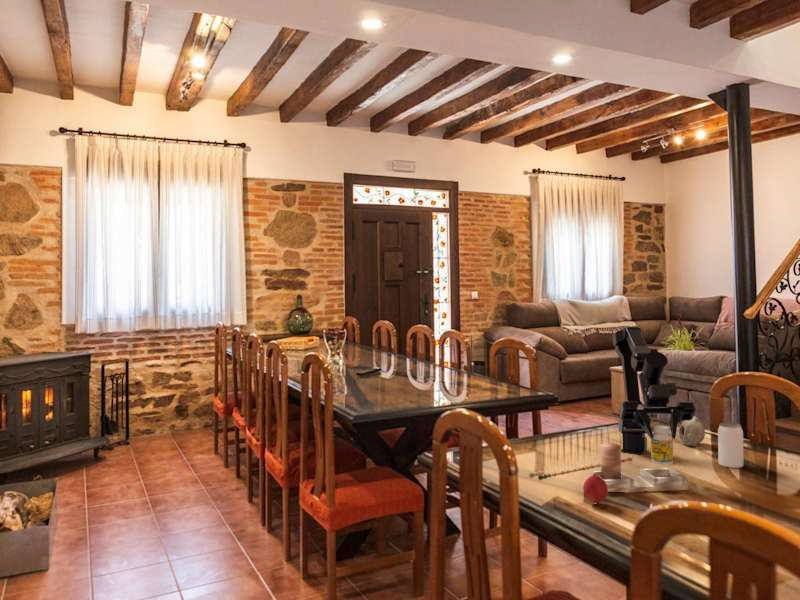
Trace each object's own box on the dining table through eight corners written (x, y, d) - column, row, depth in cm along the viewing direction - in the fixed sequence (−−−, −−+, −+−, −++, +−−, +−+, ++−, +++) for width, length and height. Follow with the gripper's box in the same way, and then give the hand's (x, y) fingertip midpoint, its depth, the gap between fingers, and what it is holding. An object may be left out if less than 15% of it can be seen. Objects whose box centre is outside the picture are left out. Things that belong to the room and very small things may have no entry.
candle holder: (600, 493, 159) (599, 450, 158) (587, 482, 168) (587, 441, 167) (688, 489, 160) (687, 447, 159) (671, 478, 169) (670, 438, 168)
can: (746, 469, 176) (746, 427, 175) (722, 468, 177) (721, 427, 177) (739, 462, 182) (738, 422, 182) (715, 461, 183) (714, 422, 183)
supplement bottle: (675, 461, 164) (675, 426, 164) (669, 466, 160) (669, 430, 160) (655, 458, 168) (654, 423, 167) (648, 462, 164) (648, 427, 163)
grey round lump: (689, 448, 208) (689, 418, 210) (712, 449, 200) (712, 418, 203) (671, 443, 203) (672, 413, 206) (694, 444, 196) (695, 413, 199)
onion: (579, 500, 154) (579, 469, 153) (602, 499, 154) (601, 468, 154) (589, 509, 148) (588, 476, 148) (612, 507, 148) (611, 475, 148)
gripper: (621, 372, 169) (630, 421, 158) (693, 372, 166) (707, 422, 155) (616, 395, 177) (624, 443, 166) (684, 395, 174) (697, 444, 163)
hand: (663, 438), depth 162 cm, fingers closed on supplement bottle, 5 cm apart
